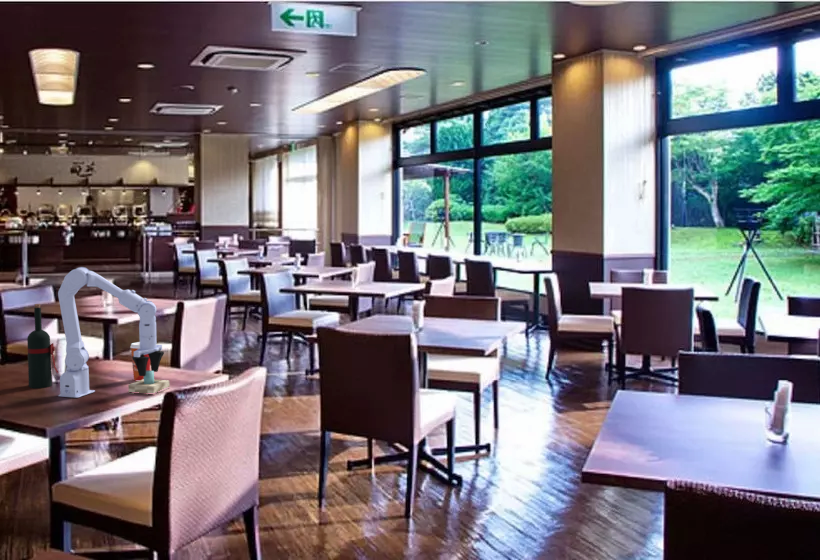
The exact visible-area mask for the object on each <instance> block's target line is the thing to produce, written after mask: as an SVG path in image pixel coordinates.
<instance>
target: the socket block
mask: <svg viewBox="0 0 820 560" xmlns="http://www.w3.org/2000/svg"><path fill="white" fill-rule="evenodd" d="M167 387H171V386H170V380H168V379H155V378H154V384H144V379H143V380H140V381H134V382H132V383H129V384H128V387H127V388H128V393H129V392H139V393H155V392H158V391H160V390H162V389H164V388H167Z"/></svg>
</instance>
